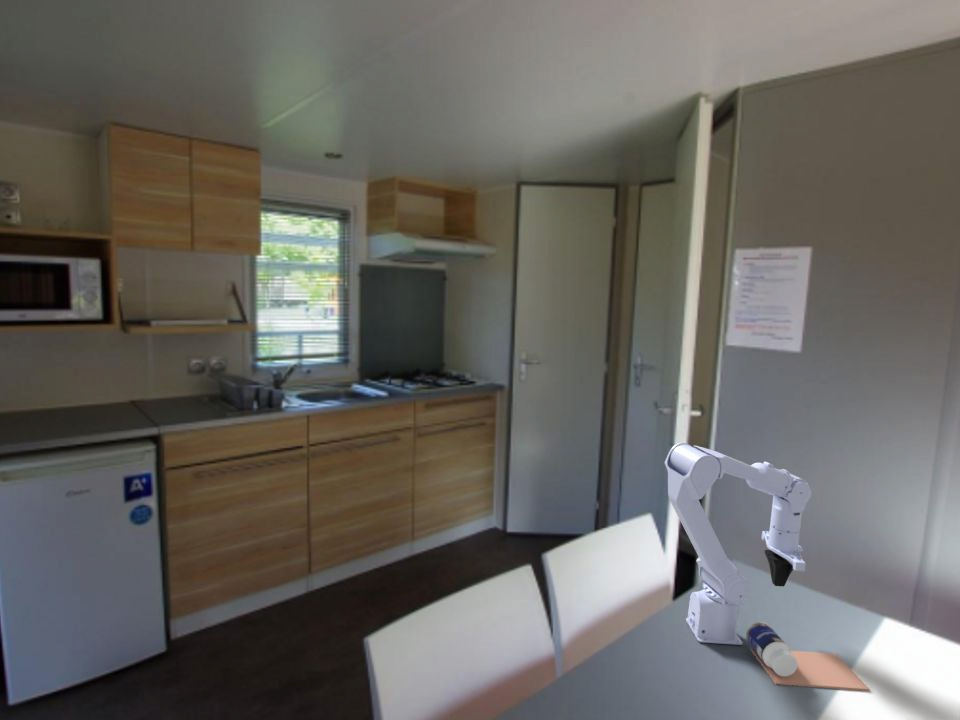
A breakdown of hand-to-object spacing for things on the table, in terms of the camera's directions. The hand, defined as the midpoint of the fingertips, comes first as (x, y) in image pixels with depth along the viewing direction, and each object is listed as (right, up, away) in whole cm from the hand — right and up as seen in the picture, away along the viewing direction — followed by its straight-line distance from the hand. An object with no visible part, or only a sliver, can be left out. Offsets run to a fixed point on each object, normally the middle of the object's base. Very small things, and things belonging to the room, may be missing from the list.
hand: (778, 584), depth 119 cm
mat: (-1, -12, -12) cm, 17 cm away
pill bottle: (-8, -8, -6) cm, 13 cm away
